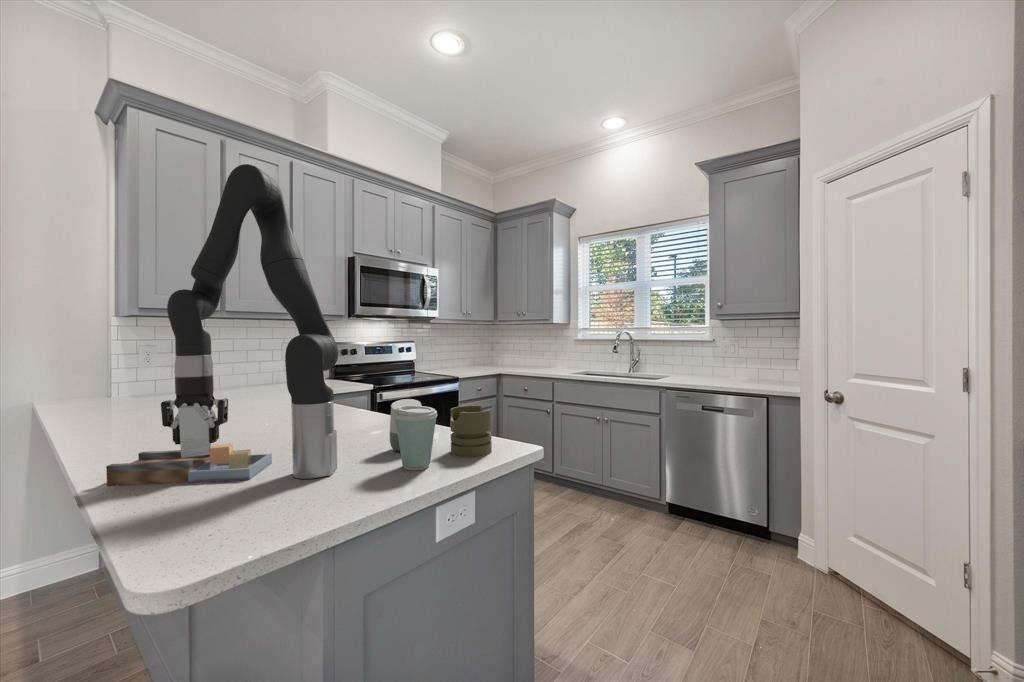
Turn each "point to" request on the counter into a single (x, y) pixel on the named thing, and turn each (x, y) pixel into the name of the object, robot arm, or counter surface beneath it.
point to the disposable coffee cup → (415, 435)
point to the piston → (470, 431)
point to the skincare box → (193, 432)
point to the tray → (229, 470)
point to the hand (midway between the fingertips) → (196, 442)
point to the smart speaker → (393, 429)
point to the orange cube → (220, 453)
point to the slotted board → (155, 475)
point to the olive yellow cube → (240, 459)
